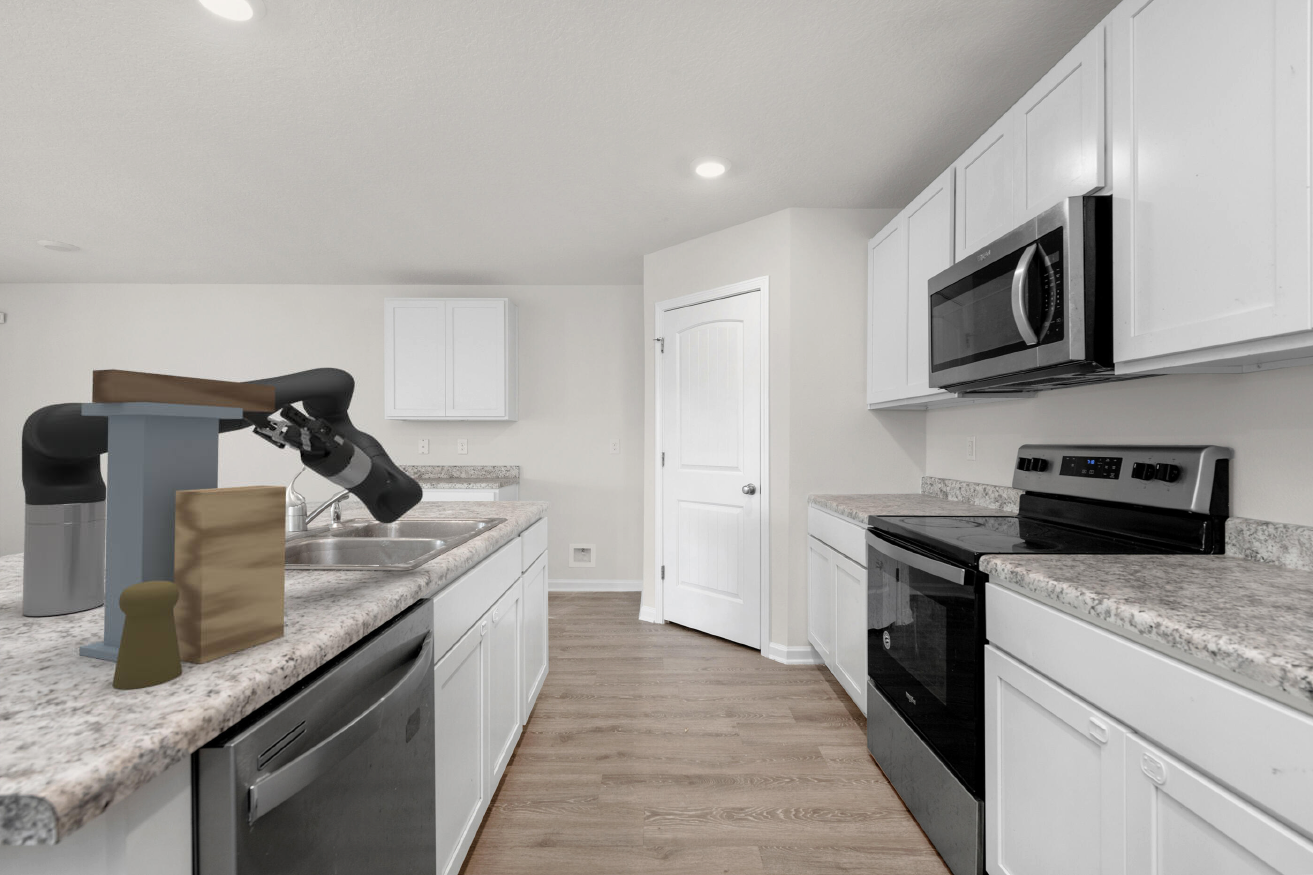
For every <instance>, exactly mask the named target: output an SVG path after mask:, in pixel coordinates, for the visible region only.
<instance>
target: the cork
mask: <svg viewBox="0 0 1313 875" xmlns="http://www.w3.org/2000/svg"><path fill="white" fill-rule="evenodd" d="M178 598H179V589H178V587H177V586H176V584H175V583H173V582H170V581H148V582H142V583H138V584H135V585H131V586H129V587H127V588H126V589H125V590H124V591H123V592H122V593H121V595H120V598H119V606H120V609H121V610H122V611H123V612H124V613H125V614H126V616H125V621H124V626H123V632H122V637H121V642H120V648H119V653H118V658H117V662H115V663H116V665H115V669H114V674H113V679H112V680H113V681H112V687H113V689H116V690H123V691H125V690H137V689H143V688H144V689H145V688H149V687H154V686H158V685H162V684H165V683H167V682H170V681H173V680H176V679H177V678H178V677H180V676H182V674H183V667H182V660H180V653H179V647H178V640H177V634H176V627H175V621H174V614H173V607H174V606H175V605H176V603H177V601H178Z"/></svg>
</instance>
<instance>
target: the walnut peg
mask: <svg viewBox="0 0 1313 875" xmlns="http://www.w3.org/2000/svg"><path fill="white" fill-rule="evenodd" d="M239 382H240V381H239ZM239 382H238V381H237V382H236V381H229V380H227V381H226V380H220V379H211V378H210V379H209V378H201V377H200V378H199V377H190V376H179V375H171V374H164V373H162V374H161V373H153V372H142V371H134V370H125V369H124V370H123V369H115V368H114V369H113V368H111V369H94V370H92V385H91V386H92V389H91V390H92V396H91V397H92V398H91V403H127V402H151V403H167V404H183V405H199V406H215V407H231V408H243V411H247V412H275V386H268V385H259V384H249V383H239Z"/></svg>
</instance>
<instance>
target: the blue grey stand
mask: <svg viewBox="0 0 1313 875" xmlns="http://www.w3.org/2000/svg"><path fill="white" fill-rule="evenodd" d="M84 403H85V404H82V415H87V416H108V453H107V472H106V473H107V474H106V475H107V476H106V477H107V478H106V483H107V484H106V535H105V582H104V618H103V619H104V620H103V621H104V622H103V623H104V624H103V626H104V627H103V628H104V629H103V640H101V641H97V642H94V643H90V644H87V645H82V646H79V648H78V650H79V651H78V655H79V656H84V657H89V658H94V659H98V658H99V660H103V659H104V661H108V660H109V662H114V663H117V658H118V653H119V648H120V642H121V637H122V632H123V626H124V621H125V616H126V614H125V613H124V612H123V611H122V610H121V609H120V606H119V598H120V595H121V593H122V592H123V591H124V590H125V589H126V588H127V587H129V586H131V585H135V584H138V583H142V582H148V581H170V582H173V583H174V561H175V506H176V491H184V490H200V489H215V488H219V487H218V486H219V485H218V484H219V479H218V478H219V439H220V438H219V435H220V434H219V419H242V414H243V408H231V407H215V406H199V405H183V404H167V403H151V402H127V403H92V402H84ZM173 614H174V607H173Z"/></svg>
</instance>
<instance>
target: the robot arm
mask: <svg viewBox="0 0 1313 875" xmlns="http://www.w3.org/2000/svg"><path fill="white" fill-rule="evenodd" d="M239 383H249V384H259V385H268V386H275V412H247V411H243V414H242V419H219V435H220V434H225V433H230V432H235V431H241V430H245V429H247V428H251V427H253V426H254V428H253V429H252V431H251V432H252V433H253V434H254V435H256V436H258V437H260V438H261V439H263V440H265V441H267V442H268V443H270V444H272V445H273V446H275V447H277V449H280V450H284V449H285V447H286V446H288V447H289V448H290V449H292V450H294V451H299V454H300V461H301V464H303V465H304V466H305V467H307V468H309V469H310V470H311V471H313V472H314V473H316V474H317V475H319V476H321V477H323V478H324V479H326V480H327V481H330V482H331V483H332V484H334V485H337V486H339V487H341V488H343V489H344V490H346V491H348V492H349V493H351V494H352V495H354V496H355V497H356V498H357V499H359V500H360V501H361V503H362V504H363V505H365V507H366V509H367V510H368V512H369V513H370V514H371V515H372V517H373V518H374V519H375V520H376V521H377V522H379V523H381V524H393V523H394V522H396V521H397V520H399V519H400V518H401V517H403V516H405V514H406V513H408V512H409V511H411V510H412V509H413V508H414V507H416V506H417V505H418V504H420V502H421V501H422V499H423V498H424V495H423V494H424V491H423V488H422V486H421V485H420V483H419V482H418V481H417V480H416V479H414V478H413V477H411V476H410V475H408V474H407V473H406V472H404V471H403V470H402V469H401V468H400V467H399V466H398V465H396V463H395V462H394V461H393V459H392V458H391V457H390V455H389V454H388V453H387V451H386V450H385V448H384V447H383V445H382V444H381V443H380V442H379V441H378V439H377V438H375V437H374V436H372V435H371V434H370V433H367V432H365V431H362V430H360V429H358V428H356V426H354V424H353V422H352V419H351V418H350V415H349V413H348V410H349V408H350V406H351V402H352V399H353V395H354V392H355V386H356V382H355V379H354V377H353V375H352V374H351V373H350V372H347V371H346V370H343V369H340V368H336V367H317V368H311V369H306V370H303V371H298V372H293V373H288V374H285V375H279V376H274V377H267V378H261V379H254V380H247V381H246V380H245V381H239ZM300 402H301V403H302V408H303V410H304V411H305V413H303V412H302V411H300V410H299V409H297V408H296V407H295V406H293V404H295V403H300ZM85 403H86V402H64V403H56V404H49V405H46V406H43V407H41V408H39V409H37V410H35V411H34V412H32V413H31V414H30V415H28V417H27V418H26V420H25V422H24V424H23V428H22V432H21V482H22V486H23V491H24V503H25V504H24V538H23V539H24V542H23V543H24V544H23V545H24V548H23V551H24V552H23V574H22V576H23V577H22V578H23V580H22V615H24V616H28V617H29V616H30V617H43V616H44V617H45V616H56V615H64V614H71V613H77V612H81V611H85V610H91V609H94V608H97V607H99V606H100V607H101V606H102V605H103V604H105V565H106V515H107V484H106V482H105V481H104V479H103V476H102V470H101V469H102V468H101V455H103V454H108V416H87V415H82V404H85ZM278 412H280V413H279V416H280V417H281V418H282V419H283V420H280V421H278V420H276V419H273V418H271V417H270V416H272V415H274V414H275V413H278ZM306 414H307V415H306ZM284 428H286V429H285V431H283V429H284Z"/></svg>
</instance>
